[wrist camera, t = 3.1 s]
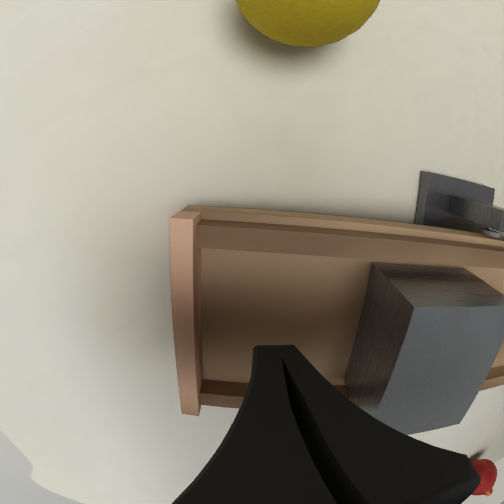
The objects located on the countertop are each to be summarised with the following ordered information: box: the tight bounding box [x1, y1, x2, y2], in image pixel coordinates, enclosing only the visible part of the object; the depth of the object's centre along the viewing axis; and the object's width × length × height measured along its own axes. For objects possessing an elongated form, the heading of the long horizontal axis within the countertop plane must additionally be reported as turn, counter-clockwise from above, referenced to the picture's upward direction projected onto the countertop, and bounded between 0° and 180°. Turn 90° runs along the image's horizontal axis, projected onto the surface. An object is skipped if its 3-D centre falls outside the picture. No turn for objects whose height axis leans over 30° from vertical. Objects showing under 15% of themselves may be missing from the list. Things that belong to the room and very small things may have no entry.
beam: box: [170, 206, 504, 416], centre depth 13 cm, size 9×26×3 cm, turn 87°
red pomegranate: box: [470, 459, 497, 496], centre depth 24 cm, size 6×6×8 cm
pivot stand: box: [414, 171, 504, 233], centre depth 14 cm, size 14×6×5 cm, turn 177°
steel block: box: [344, 262, 504, 435], centre depth 11 cm, size 6×5×4 cm
